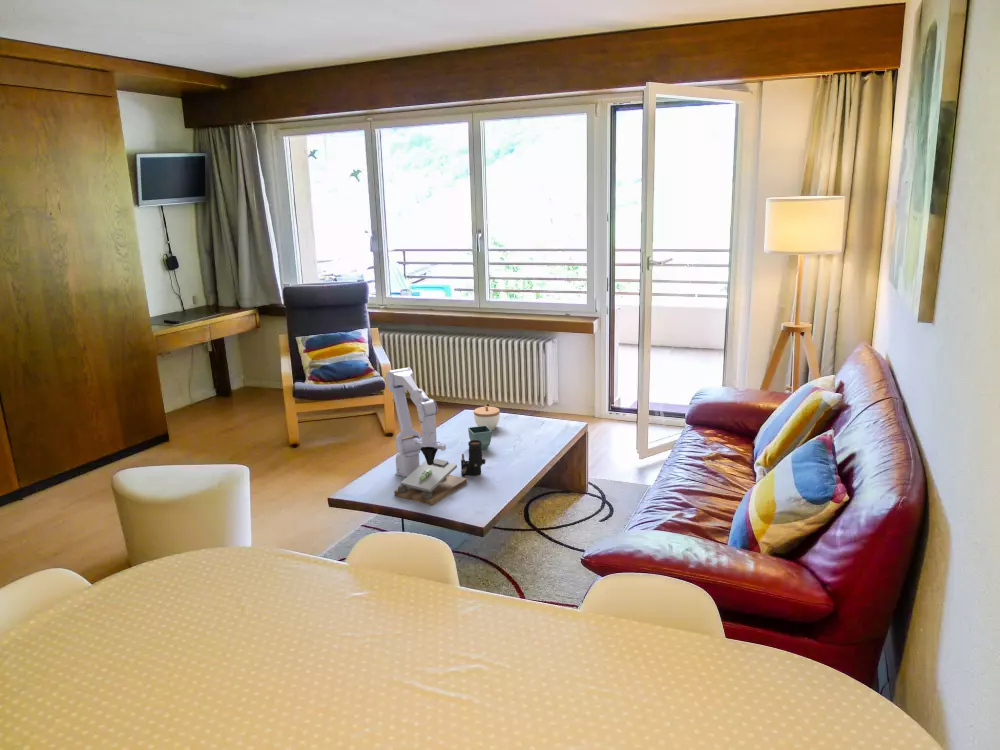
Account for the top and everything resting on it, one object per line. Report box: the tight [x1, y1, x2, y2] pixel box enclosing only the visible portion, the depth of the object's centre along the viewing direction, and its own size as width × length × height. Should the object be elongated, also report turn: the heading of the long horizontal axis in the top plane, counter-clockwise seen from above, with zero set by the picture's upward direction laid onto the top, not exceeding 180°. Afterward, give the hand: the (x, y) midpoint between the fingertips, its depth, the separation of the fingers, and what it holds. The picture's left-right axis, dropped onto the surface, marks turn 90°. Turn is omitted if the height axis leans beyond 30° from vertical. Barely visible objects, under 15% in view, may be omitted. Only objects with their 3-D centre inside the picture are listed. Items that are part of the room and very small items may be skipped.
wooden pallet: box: [393, 474, 468, 506], centre depth 277 cm, size 18×23×4 cm
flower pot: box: [467, 425, 493, 450], centre depth 318 cm, size 9×9×9 cm
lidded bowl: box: [473, 405, 501, 431], centre depth 343 cm, size 13×13×11 cm
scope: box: [460, 440, 486, 478], centre depth 289 cm, size 8×14×10 cm
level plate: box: [400, 458, 458, 492], centre depth 274 cm, size 14×18×3 cm
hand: (430, 464), depth 275 cm, fingers closed
